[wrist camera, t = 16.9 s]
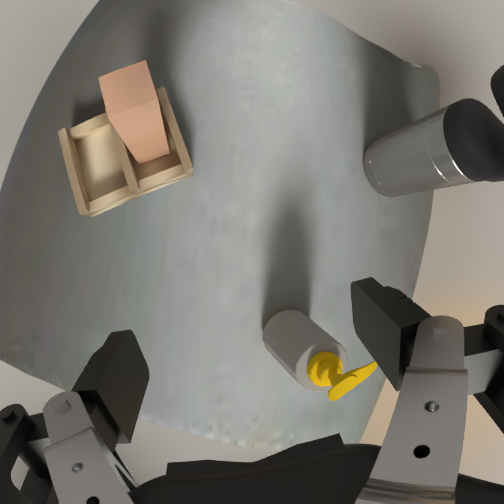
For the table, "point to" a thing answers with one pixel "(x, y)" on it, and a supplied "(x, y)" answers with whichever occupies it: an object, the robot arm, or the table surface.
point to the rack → (119, 162)
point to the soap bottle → (311, 354)
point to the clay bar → (135, 111)
